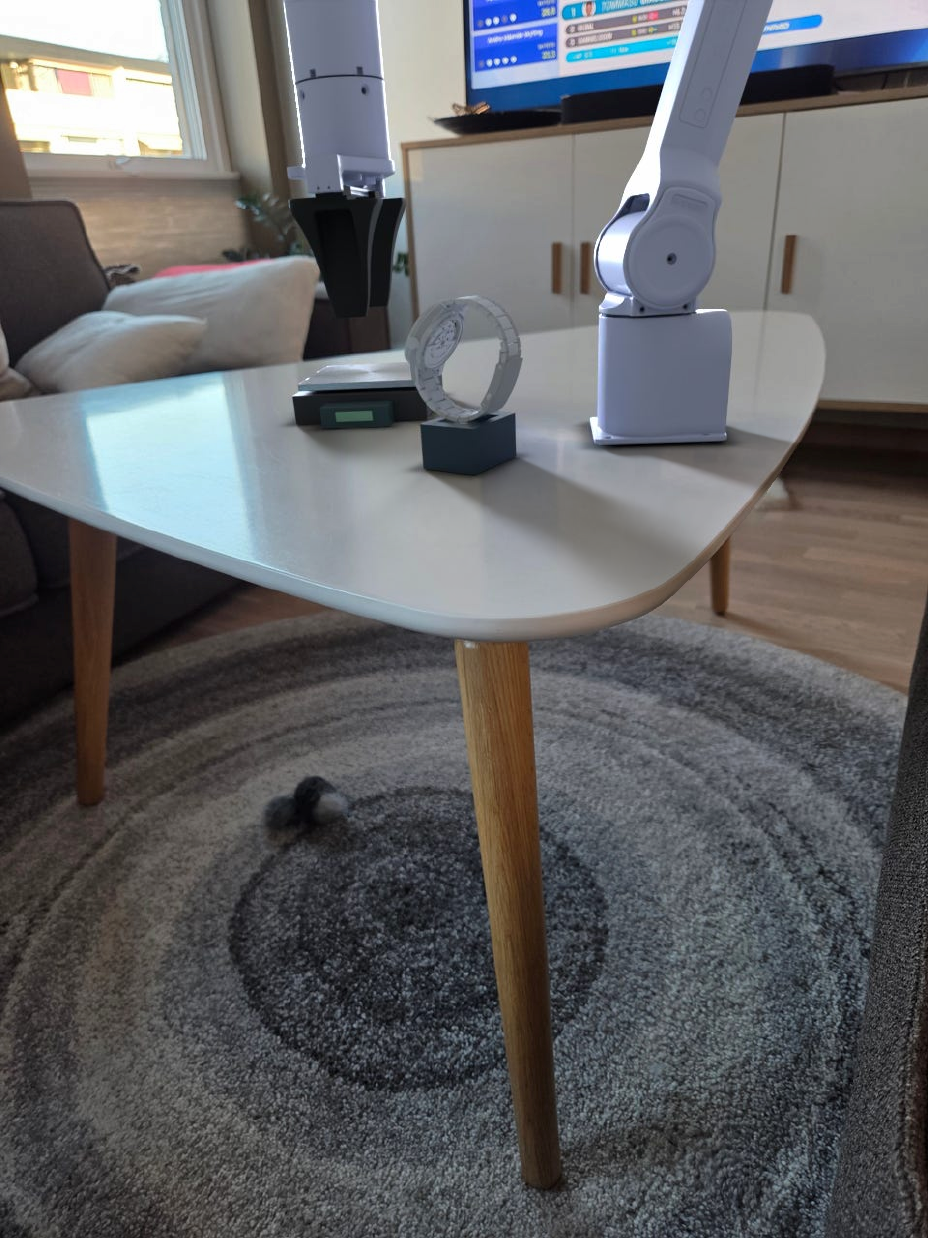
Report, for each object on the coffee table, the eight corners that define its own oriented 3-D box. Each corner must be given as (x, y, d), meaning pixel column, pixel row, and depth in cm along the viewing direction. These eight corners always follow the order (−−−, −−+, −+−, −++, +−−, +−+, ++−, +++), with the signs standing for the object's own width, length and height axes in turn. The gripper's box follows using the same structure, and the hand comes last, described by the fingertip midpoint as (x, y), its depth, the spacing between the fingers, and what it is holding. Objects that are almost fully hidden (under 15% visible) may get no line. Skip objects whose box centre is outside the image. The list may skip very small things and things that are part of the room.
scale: (443, 394, 83) (441, 368, 82) (423, 425, 70) (421, 396, 69) (328, 398, 84) (324, 373, 83) (287, 430, 71) (283, 401, 70)
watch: (445, 447, 62) (435, 293, 58) (537, 458, 58) (535, 292, 53) (400, 465, 58) (386, 301, 54) (496, 478, 54) (489, 301, 49)
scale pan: (435, 366, 81) (435, 360, 81) (420, 386, 72) (419, 379, 71) (328, 371, 83) (327, 365, 82) (298, 391, 73) (297, 384, 72)
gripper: (309, 104, 59) (333, 305, 65) (239, 70, 46) (278, 325, 52) (405, 96, 58) (421, 300, 64) (362, 59, 45) (387, 319, 51)
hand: (363, 311), depth 58 cm, fingers open, 7 cm apart
